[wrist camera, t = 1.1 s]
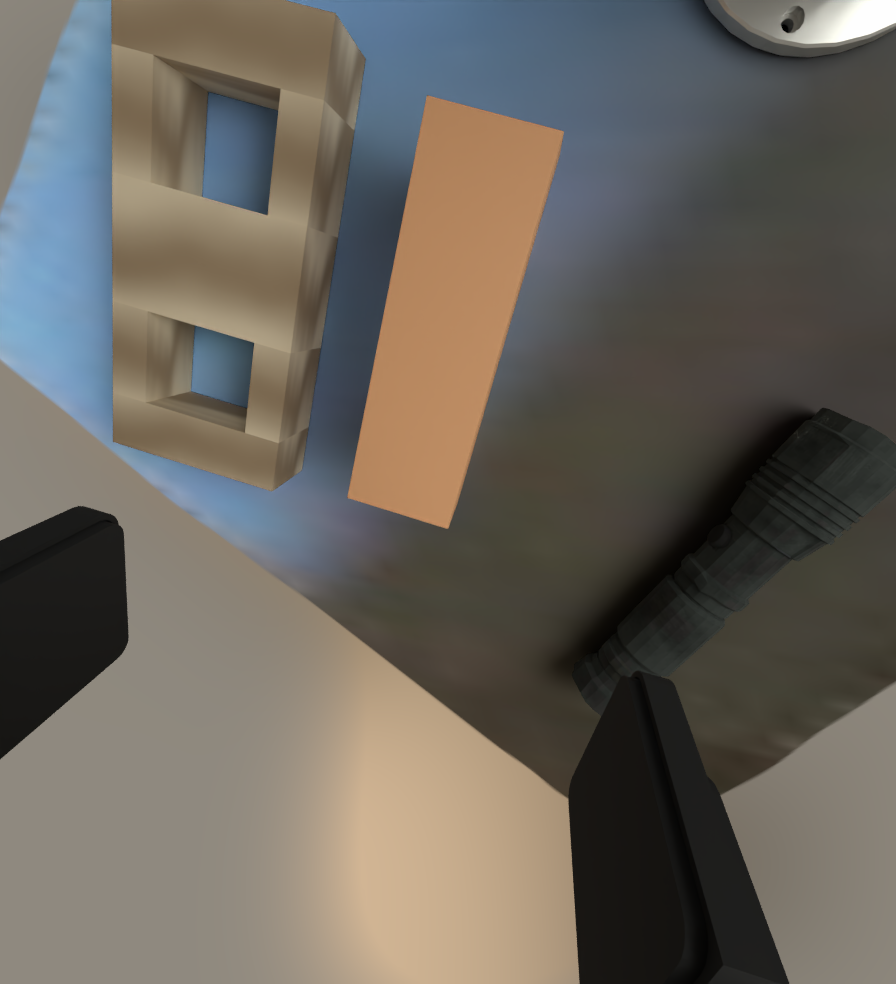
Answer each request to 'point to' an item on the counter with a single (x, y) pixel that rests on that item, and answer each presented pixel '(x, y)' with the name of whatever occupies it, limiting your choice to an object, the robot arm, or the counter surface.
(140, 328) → the slotted tan block
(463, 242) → the tan wedge board
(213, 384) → the counter surface
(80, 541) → the robot arm
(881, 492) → the flashlight
